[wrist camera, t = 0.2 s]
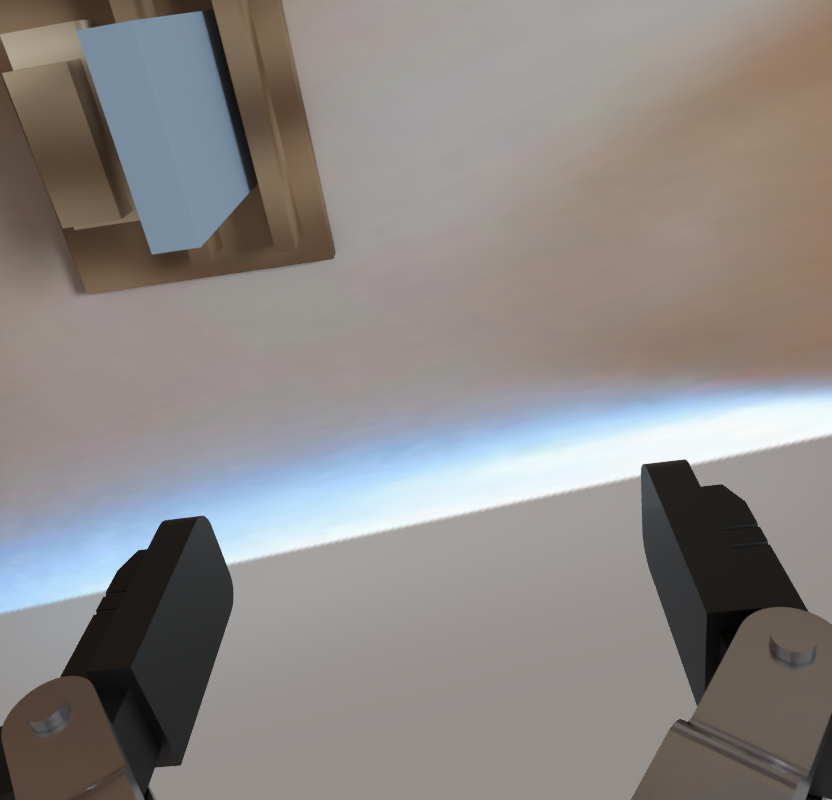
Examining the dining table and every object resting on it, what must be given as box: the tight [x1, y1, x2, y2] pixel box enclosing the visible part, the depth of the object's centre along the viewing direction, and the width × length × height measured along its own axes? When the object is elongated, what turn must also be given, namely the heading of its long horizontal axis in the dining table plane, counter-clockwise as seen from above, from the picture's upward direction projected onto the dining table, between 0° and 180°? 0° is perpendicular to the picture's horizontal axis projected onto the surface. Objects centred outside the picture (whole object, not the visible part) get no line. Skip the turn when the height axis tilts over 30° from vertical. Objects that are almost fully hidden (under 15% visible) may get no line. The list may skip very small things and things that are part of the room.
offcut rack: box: [0, 0, 335, 294], centre depth 36 cm, size 17×14×4 cm
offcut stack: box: [0, 19, 140, 230], centre depth 36 cm, size 9×4×4 cm, turn 9°
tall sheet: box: [76, 9, 258, 254], centre depth 32 cm, size 8×2×10 cm, turn 9°
